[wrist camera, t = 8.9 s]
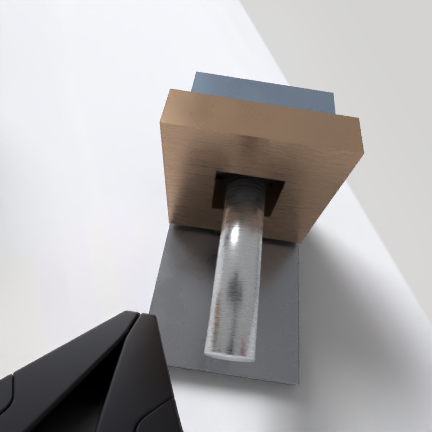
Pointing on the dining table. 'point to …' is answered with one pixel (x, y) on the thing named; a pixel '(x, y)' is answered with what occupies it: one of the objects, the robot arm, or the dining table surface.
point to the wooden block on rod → (254, 159)
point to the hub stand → (234, 269)
